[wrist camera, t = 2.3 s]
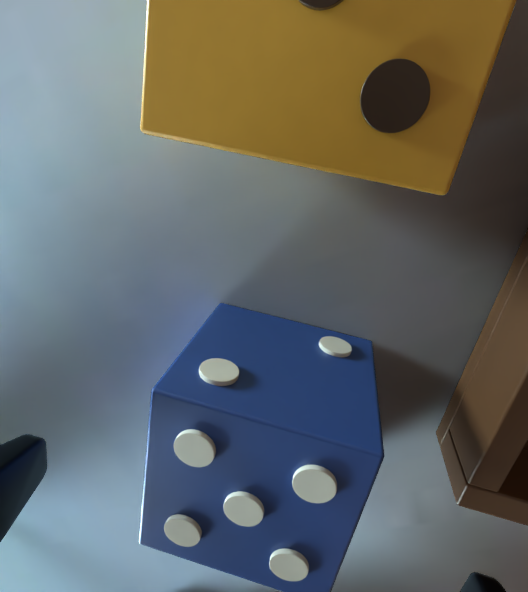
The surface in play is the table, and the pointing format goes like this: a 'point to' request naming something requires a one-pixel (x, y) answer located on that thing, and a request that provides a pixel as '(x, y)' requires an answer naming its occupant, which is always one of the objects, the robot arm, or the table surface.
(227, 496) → the blue die
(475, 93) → the ochre die
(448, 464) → the tray
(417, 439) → the table surface
